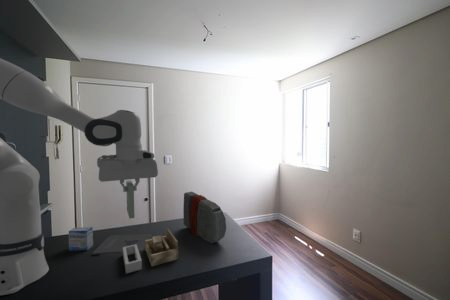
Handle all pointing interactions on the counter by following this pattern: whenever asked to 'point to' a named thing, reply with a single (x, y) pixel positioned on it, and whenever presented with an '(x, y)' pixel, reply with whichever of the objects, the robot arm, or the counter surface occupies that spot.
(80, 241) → the medicine box
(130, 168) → the robot arm
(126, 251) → the holder
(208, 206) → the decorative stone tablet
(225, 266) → the counter surface
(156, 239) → the offcut pine
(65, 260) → the counter surface
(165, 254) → the rack
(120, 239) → the play button award
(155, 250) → the offcut walnut
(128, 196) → the block
